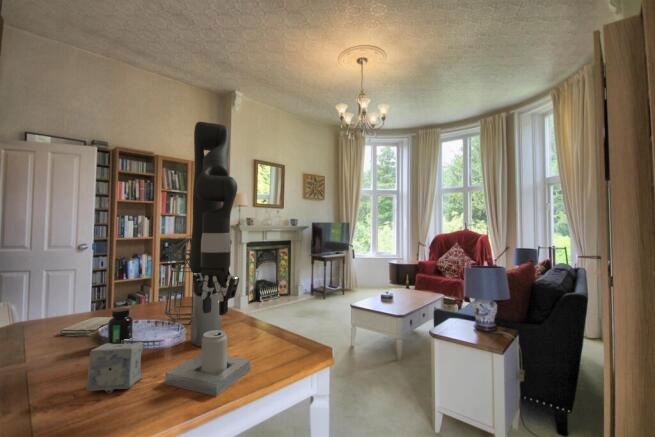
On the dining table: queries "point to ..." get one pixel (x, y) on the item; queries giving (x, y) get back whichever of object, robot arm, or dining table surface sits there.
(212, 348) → the beverage can
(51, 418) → the dining table surface
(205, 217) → the robot arm
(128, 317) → the supplement bottle
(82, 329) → the washcloth
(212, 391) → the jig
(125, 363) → the incense holder
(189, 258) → the geometric lantern
